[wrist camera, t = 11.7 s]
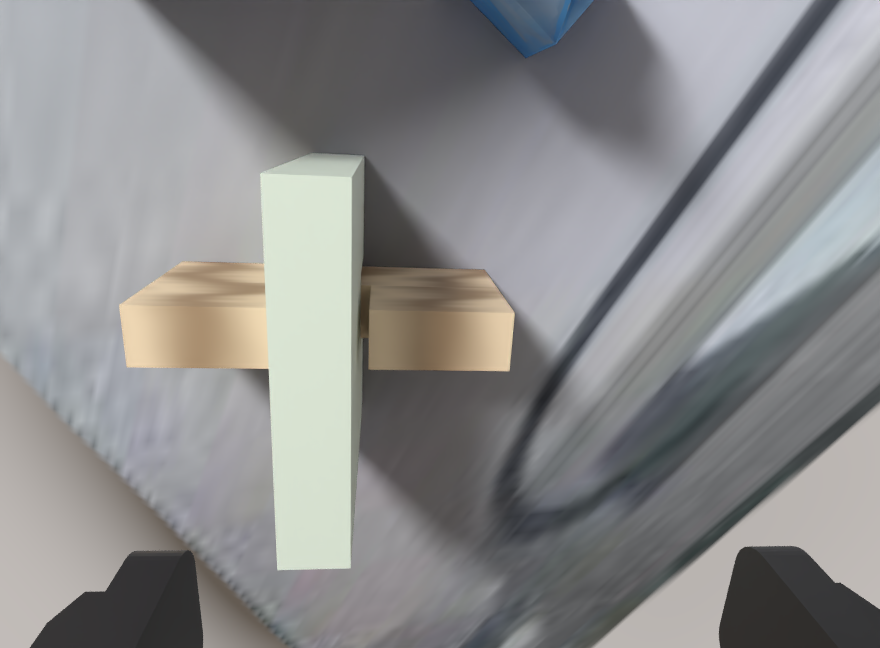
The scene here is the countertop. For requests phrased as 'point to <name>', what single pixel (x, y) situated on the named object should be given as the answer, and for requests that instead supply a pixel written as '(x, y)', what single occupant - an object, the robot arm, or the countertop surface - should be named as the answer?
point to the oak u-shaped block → (382, 319)
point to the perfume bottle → (532, 20)
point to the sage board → (314, 352)
